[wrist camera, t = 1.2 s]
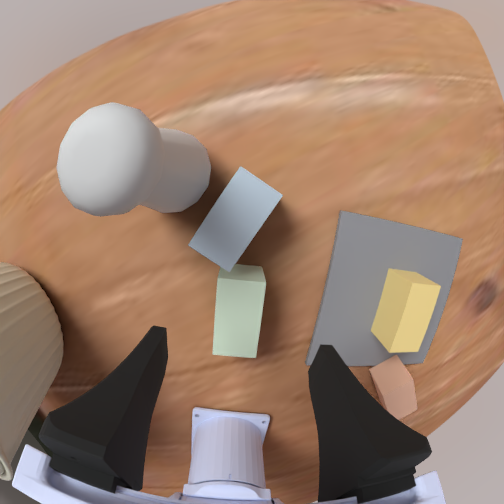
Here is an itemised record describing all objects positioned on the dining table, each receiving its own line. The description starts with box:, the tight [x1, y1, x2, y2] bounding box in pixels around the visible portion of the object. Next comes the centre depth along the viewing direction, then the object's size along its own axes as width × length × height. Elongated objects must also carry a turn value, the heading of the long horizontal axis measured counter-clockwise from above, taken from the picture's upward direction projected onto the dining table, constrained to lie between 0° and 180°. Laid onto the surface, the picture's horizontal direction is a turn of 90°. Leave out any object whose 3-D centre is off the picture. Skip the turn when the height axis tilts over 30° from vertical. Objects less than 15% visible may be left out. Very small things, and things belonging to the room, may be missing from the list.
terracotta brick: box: [369, 354, 417, 420], centre depth 24 cm, size 6×3×4 cm, turn 28°
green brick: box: [213, 264, 266, 358], centre depth 21 cm, size 6×3×4 cm, turn 174°
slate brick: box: [188, 166, 283, 272], centre depth 20 cm, size 6×3×4 cm, turn 145°
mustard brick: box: [371, 268, 441, 353], centre depth 21 cm, size 6×3×4 cm, turn 172°
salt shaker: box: [57, 102, 211, 216], centre depth 14 cm, size 6×6×13 cm
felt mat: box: [305, 210, 463, 366], centre depth 23 cm, size 14×14×1 cm
